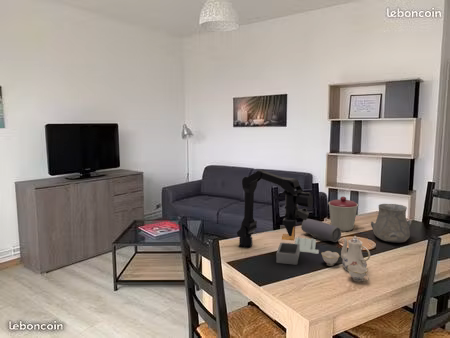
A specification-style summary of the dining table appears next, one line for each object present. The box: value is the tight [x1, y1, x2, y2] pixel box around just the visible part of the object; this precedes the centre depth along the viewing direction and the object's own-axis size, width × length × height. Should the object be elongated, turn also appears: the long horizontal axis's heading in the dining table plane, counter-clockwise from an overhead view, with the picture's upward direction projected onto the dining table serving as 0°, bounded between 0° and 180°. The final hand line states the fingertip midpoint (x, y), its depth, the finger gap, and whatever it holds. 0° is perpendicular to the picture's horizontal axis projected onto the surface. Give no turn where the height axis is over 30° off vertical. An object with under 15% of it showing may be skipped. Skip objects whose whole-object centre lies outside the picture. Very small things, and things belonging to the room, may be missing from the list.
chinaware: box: [320, 235, 371, 282], centre depth 155 cm, size 28×17×17 cm, turn 28°
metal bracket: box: [294, 236, 320, 255], centre depth 184 cm, size 14×6×15 cm
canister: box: [327, 196, 359, 232], centre depth 215 cm, size 18×18×21 cm
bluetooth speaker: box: [300, 218, 342, 243], centre depth 199 cm, size 23×9×10 cm, turn 35°
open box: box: [275, 242, 301, 266], centre depth 171 cm, size 10×15×5 cm, turn 163°
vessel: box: [370, 203, 412, 244], centre depth 193 cm, size 22×22×20 cm
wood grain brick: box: [281, 226, 296, 242], centre depth 170 cm, size 6×5×7 cm
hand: (290, 234), depth 169 cm, fingers closed on wood grain brick, 5 cm apart
